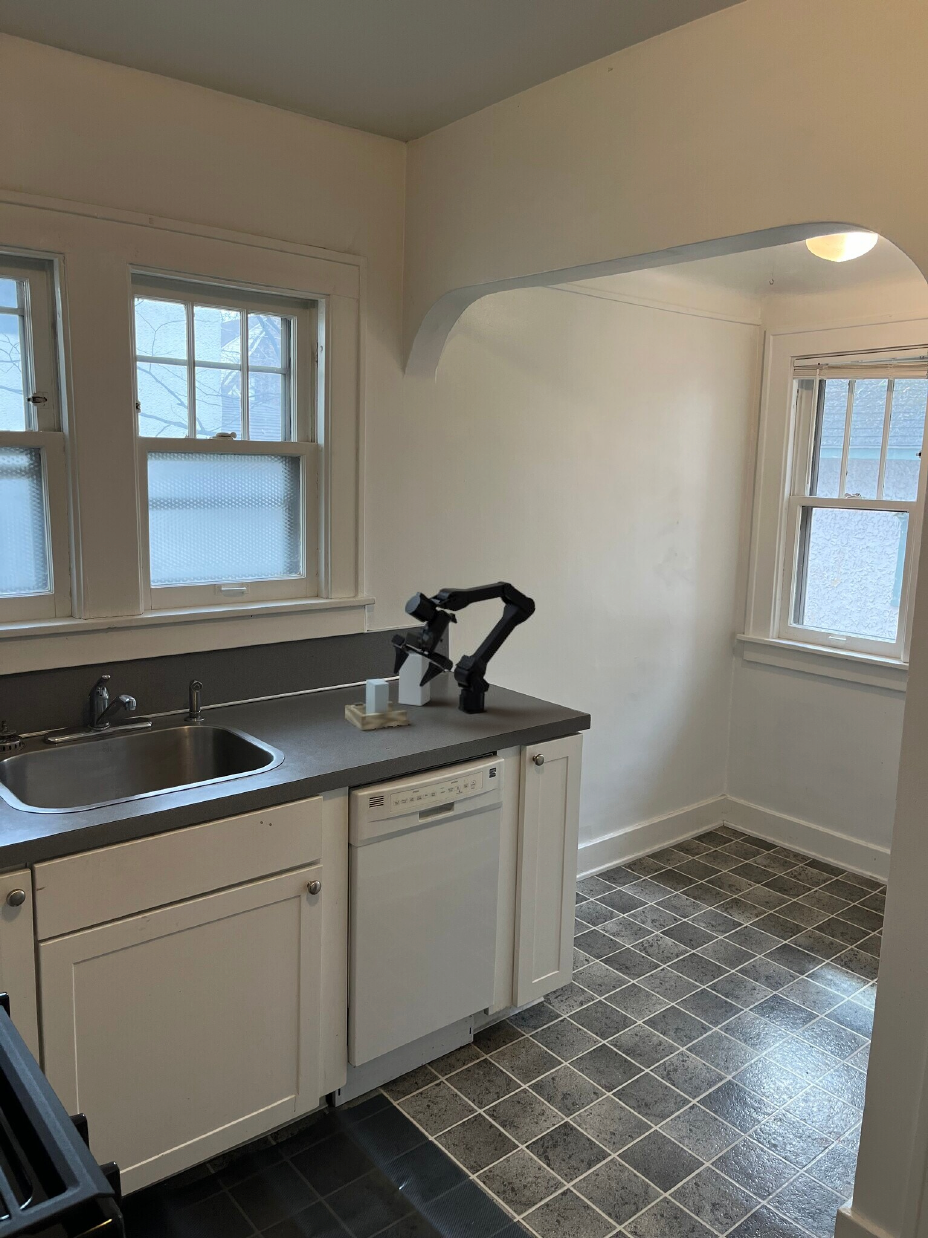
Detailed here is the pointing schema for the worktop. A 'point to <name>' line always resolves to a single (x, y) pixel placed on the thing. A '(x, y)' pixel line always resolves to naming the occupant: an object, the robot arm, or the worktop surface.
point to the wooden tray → (374, 717)
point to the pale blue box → (376, 696)
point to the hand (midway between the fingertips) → (407, 680)
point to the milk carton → (414, 680)
